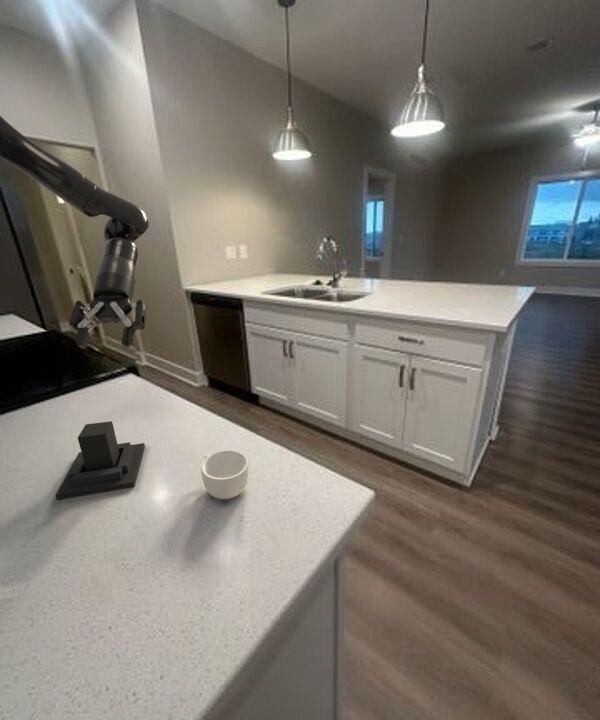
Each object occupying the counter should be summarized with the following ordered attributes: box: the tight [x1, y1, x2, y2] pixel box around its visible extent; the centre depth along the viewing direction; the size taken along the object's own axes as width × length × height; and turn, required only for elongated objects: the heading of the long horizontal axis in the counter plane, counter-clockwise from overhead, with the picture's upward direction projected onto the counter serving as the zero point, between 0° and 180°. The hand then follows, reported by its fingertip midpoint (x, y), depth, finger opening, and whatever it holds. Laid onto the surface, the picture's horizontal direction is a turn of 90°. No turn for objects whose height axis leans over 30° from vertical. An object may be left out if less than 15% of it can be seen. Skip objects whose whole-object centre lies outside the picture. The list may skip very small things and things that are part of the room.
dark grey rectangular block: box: [77, 420, 120, 472], centre depth 62 cm, size 4×4×8 cm
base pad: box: [55, 442, 146, 501], centre depth 63 cm, size 12×12×2 cm
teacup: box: [200, 449, 250, 500], centre depth 59 cm, size 10×8×5 cm
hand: (103, 346), depth 70 cm, fingers open, 8 cm apart
